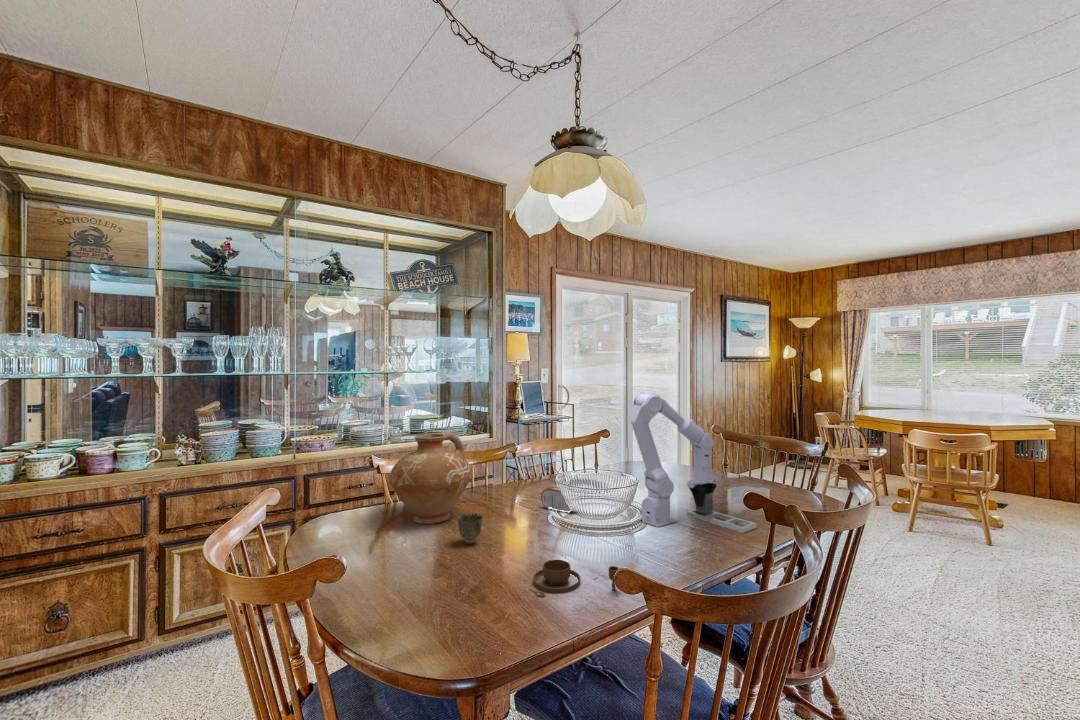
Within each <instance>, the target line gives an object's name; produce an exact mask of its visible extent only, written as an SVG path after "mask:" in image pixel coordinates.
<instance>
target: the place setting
mask: <svg viewBox="0 0 1080 720" xmlns="http://www.w3.org/2000/svg"><path fill="white" fill-rule="evenodd" d="M618 569H619V567H618V566H616V565H615V566H614V565H612V566H609V567H608V577H609V579H610V580H611V588H612V589H611V591H612V592H616V591H617V588H616V587H617V586H616V587H615V584H616V583H615V584H614V575H615V573H616V571H617V570H618ZM619 570H620V569H619ZM570 574H572V575H574V576H575V577H577V579H578V582H575V583H574V584H572V585H569V586H565V587H549V586H544V585H542V584H540V583H538V582H537V581H538V580H539V578H540V577H542V576H543V578H544V580H545V581H546V582H547V583H549V585H552V586H562V585H564V584H565V582H567V581H568V580H569V579H570V577H571V575H570ZM595 578H596V579H595ZM595 578H593V579H594V580H597V579H598V577H595ZM532 582H533V584H534V586H535V587H536V588H538V589H539V590H541V591H538V590H537V591H536V590H534V589H531V588H529V589H528V591H531V592H532V593H534V595H535V596H537V597H540V598H544V597H546V593H544V592H547V593H556V594H557V593H558V594H559V593H566V592H570V591H572V590H575V589H576V588H578V587H579V585H580V583H581V575H580V574H579V573H578V572H577V571H575V570H573V569H571V564H570V562H568V561H566V560H563V559H550V560H547V561H545V562H544V563H543V564H542V569H541V570H537V571H536V572H535V573H534V574H533V576H532ZM542 591H544V592H542Z"/></svg>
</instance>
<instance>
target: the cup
mask: <svg viewBox="0 0 1080 720" xmlns="http://www.w3.org/2000/svg"><path fill="white" fill-rule="evenodd" d="M457 521H458V528H459V529H458V530H459V534H460V536H461V538H463V539H464V541H463V542H464V543H465V544H467V545H473V544H475V543H476V542H477V538H478V537H479V536H480V534H481V532H482V526H483V514H480V513H478V514H477V513H474V512H473V513H468V514H466V513H463V514H460V515H459V517H457Z"/></svg>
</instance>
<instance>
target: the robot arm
mask: <svg viewBox="0 0 1080 720" xmlns="http://www.w3.org/2000/svg"><path fill="white" fill-rule="evenodd" d="M631 404H632V405H631V406H632V413H631V422H630V424H631V427H632V430H633V433H634V435H635V439H636V441H637V444H638V447H639V452H640V454H641V457H642V460H643V463H644V468H645V469H646V470H645V471H644V473H643V474H644V485H645V488H646V489H647V493H648V495H647V497H645V498H644V499H643V500H642V502H641V519H642V521H641V522H643V523H645V524H648V525H651V526H654V527H659V528H660V527H661V526H665V525H668V524H672V523H674V522H676V521H677V520H676V519H673V518H671V495H672V494H673V492H674V489H675V486H674V483H673V481H672V480H671V479H670V478H669V475H668V473H667V472H666V470H665V469H664V468H663V466H662V463H661V460H660V456H659V454H658V451H657V450H658V449H657V447H656V444H655V440H654V437H653V435H652V431H651V428H650V425H649V424H650V423H651V421H652V419H653V418H655V416H657V415H658V414H659V413H660V414H661V415H663V416H664V417H665V418H666V419H668V420H669V421H671V422H672V423H673V424H674V425H676V426H677V427H676V428H677V431H678V432H679V433H680V434H681V435H683V437H685V438H686V439H687V440H688V441H689V443H690V444H691V446H693V478H692V479H690V480H688V481H687V482H686V483H687V484H686V485H687V488H689V490H690V492H691V494H692V497H693V499H694V503H695V507H696V506H699V507H702V503H703V495H704V491H709V492H713V493H714V491H715V489H716V488H717V484H716V483H717V482H718V476H717V475H713V474H712V450H713V447H714V445H715V440H714V439H713V436H712V435H711V434H710V433H706V432H705V431H704V428H702V427H699V425H697V424H696V423H695V420H694V419H692V418H684V417H683V416H682V415H681V414H679V412H677V410H675V408H673V406H671V405H670V404H669V403H668V402H667V400H665V399H664V398H662V397H661V396H660V395H658V394H650V393H645V392H640V393H638V394H637V395H636V396H635V397H634V399H633V400H632V402H631Z"/></svg>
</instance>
